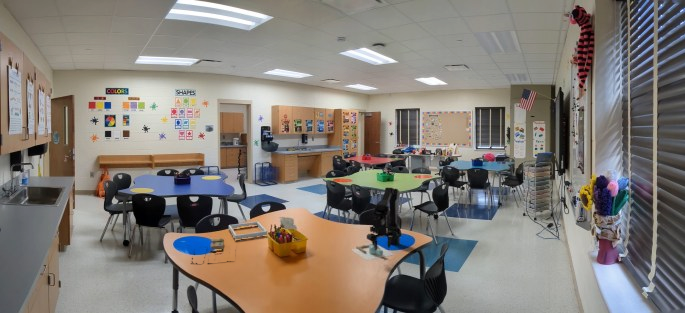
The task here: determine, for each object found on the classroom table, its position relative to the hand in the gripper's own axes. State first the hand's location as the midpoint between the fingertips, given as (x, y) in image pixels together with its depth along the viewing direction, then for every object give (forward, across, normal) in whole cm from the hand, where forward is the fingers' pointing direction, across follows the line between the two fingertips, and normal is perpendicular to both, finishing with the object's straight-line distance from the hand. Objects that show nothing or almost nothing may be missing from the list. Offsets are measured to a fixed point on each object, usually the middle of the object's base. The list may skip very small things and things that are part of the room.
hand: (382, 249), depth 221 cm
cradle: (+6, 0, -17) cm, 18 cm away
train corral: (+6, +63, -95) cm, 114 cm away
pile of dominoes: (+7, +91, -58) cm, 108 cm away
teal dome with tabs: (+6, 0, -8) cm, 9 cm away
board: (+6, 0, -12) cm, 14 cm away
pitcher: (+7, +38, -70) cm, 79 cm away
